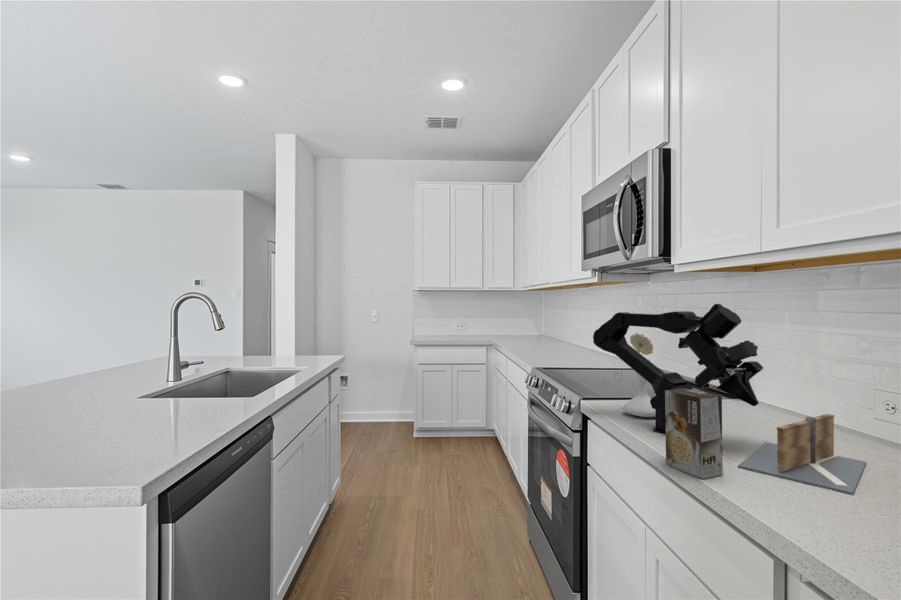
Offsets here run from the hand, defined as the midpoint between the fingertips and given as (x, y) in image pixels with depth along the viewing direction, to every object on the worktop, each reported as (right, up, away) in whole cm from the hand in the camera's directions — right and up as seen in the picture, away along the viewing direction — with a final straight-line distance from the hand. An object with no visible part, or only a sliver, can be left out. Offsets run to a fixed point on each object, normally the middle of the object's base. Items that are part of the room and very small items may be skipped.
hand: (756, 404), depth 100 cm
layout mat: (+6, -12, -6) cm, 14 cm away
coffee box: (-18, -12, -8) cm, 23 cm away
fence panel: (+2, -11, -8) cm, 14 cm away
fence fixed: (+12, -12, -3) cm, 17 cm away
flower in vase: (-10, -12, +37) cm, 40 cm away
